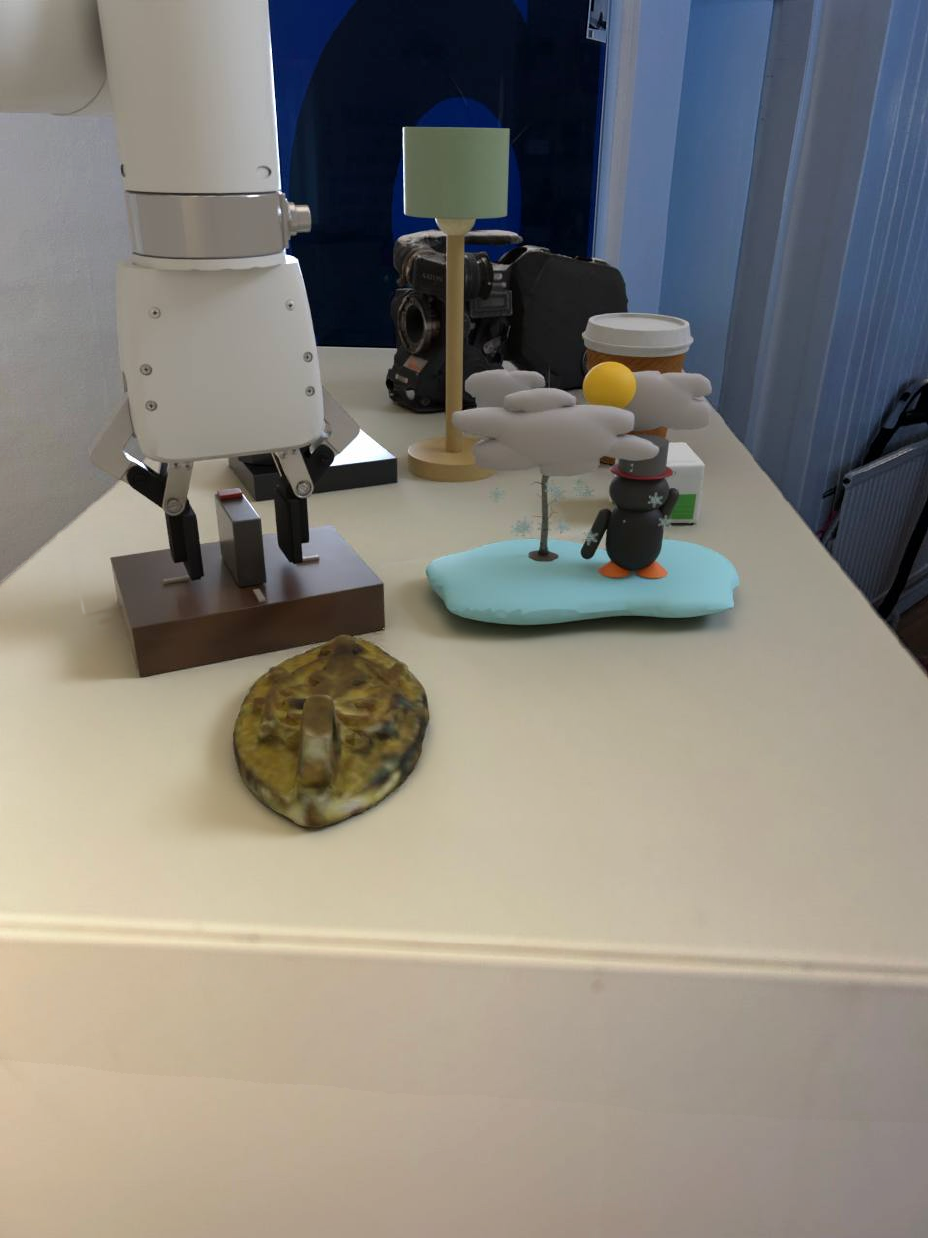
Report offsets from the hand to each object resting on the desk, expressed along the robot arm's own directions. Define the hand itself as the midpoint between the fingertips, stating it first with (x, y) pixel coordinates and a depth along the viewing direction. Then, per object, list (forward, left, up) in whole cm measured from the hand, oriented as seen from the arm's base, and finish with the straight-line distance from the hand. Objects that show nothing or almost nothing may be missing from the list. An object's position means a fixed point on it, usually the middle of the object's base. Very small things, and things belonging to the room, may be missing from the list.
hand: (242, 560), depth 55 cm
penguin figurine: (+20, -6, -4) cm, 21 cm away
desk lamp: (+23, +21, -4) cm, 31 cm away
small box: (+33, +5, -4) cm, 34 cm away
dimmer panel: (0, 0, -4) cm, 4 cm away
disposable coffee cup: (+39, +18, -4) cm, 43 cm away
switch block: (+11, +24, -4) cm, 27 cm away
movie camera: (+38, +42, -4) cm, 57 cm away
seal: (+1, -14, -4) cm, 15 cm away
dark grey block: (0, 0, -1) cm, 1 cm away
